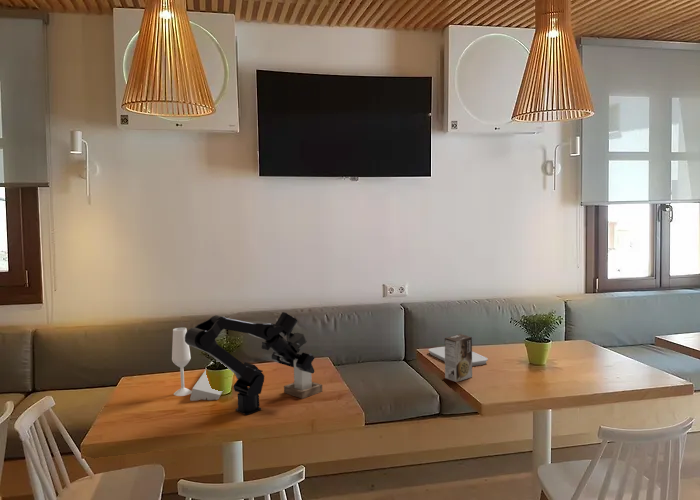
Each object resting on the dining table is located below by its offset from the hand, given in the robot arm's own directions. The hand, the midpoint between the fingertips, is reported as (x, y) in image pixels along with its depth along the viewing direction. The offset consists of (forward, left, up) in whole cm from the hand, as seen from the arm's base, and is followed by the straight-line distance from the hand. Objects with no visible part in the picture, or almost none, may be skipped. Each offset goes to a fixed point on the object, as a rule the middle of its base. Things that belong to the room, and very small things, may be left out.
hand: (305, 369), depth 208 cm
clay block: (-1, 0, -8) cm, 8 cm away
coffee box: (+48, -35, -8) cm, 60 cm away
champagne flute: (-30, +34, -8) cm, 46 cm away
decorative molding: (-17, +33, -9) cm, 38 cm away
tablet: (+70, -20, -9) cm, 74 cm away
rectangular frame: (-1, 0, -8) cm, 8 cm away
